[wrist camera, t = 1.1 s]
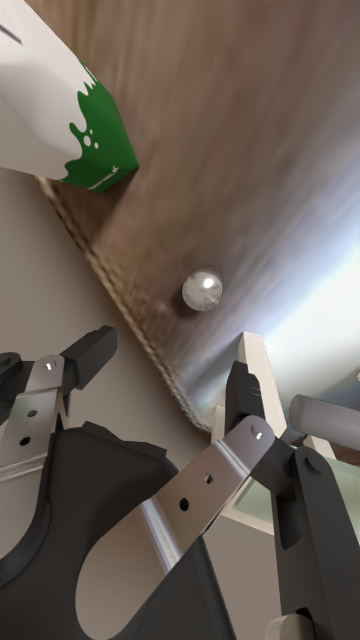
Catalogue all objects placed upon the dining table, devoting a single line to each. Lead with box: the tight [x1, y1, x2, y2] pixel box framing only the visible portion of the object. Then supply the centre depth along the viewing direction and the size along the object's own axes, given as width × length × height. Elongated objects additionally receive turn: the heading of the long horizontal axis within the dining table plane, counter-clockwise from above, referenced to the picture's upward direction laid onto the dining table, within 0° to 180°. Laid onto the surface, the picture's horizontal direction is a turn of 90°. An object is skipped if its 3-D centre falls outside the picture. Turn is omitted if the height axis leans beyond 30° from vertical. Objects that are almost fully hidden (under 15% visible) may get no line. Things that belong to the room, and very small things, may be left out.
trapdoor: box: [236, 395, 360, 545], centre depth 22 cm, size 18×14×5 cm
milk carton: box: [0, 0, 139, 193], centre depth 15 cm, size 9×9×20 cm
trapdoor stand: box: [211, 331, 360, 535], centre depth 27 cm, size 21×21×16 cm
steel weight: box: [182, 266, 223, 311], centre depth 26 cm, size 5×5×5 cm
